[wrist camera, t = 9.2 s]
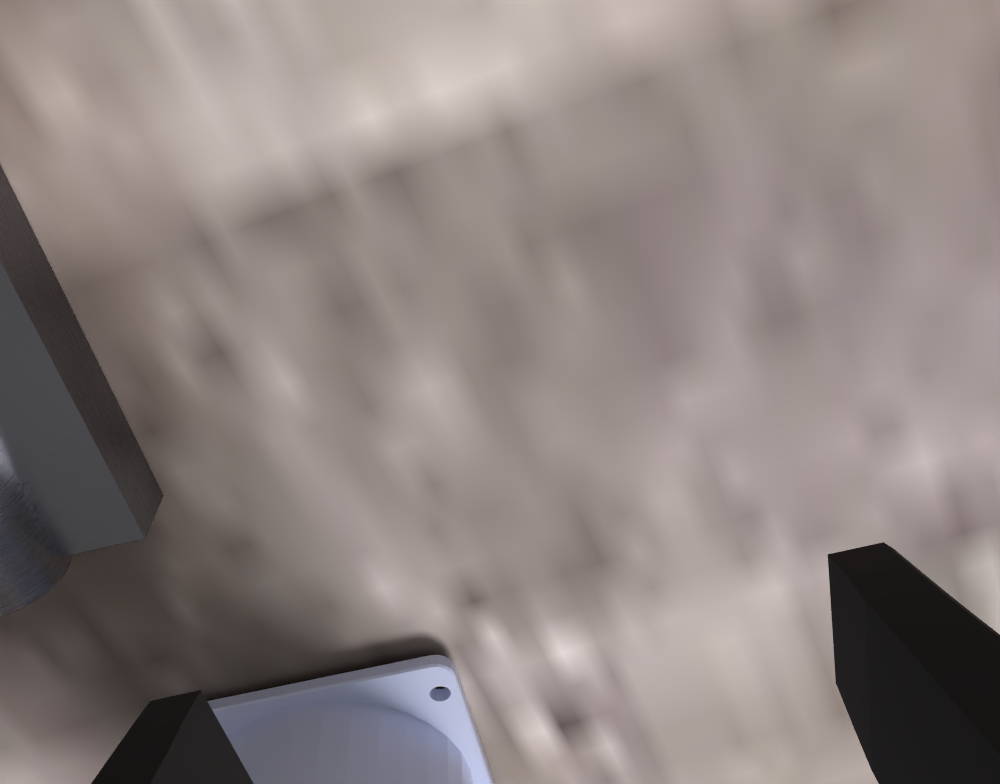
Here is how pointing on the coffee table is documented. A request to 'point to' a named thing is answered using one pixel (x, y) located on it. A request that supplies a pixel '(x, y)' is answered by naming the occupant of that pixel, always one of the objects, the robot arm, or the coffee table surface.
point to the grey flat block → (56, 430)
